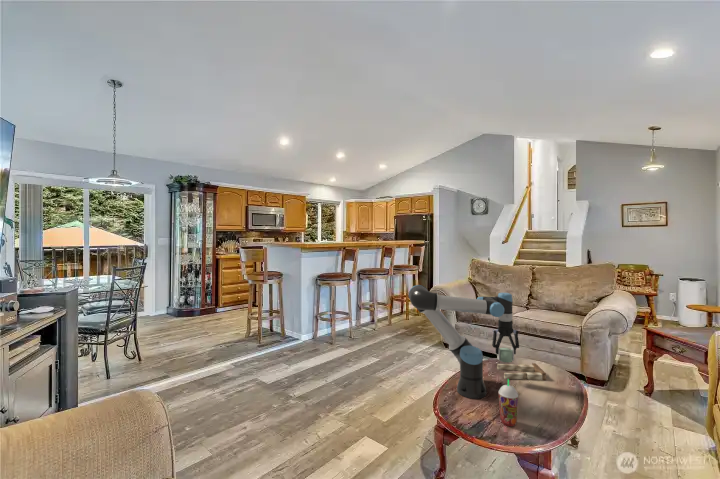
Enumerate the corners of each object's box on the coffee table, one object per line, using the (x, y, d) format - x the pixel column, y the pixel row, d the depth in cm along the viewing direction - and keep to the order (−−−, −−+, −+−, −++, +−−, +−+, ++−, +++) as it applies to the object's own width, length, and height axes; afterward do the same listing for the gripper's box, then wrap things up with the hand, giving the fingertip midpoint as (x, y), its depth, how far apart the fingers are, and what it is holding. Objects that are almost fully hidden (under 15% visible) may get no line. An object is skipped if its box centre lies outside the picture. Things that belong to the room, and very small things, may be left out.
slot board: (504, 378, 199) (504, 372, 198) (497, 368, 213) (497, 362, 213) (546, 380, 196) (545, 373, 196) (535, 369, 211) (535, 363, 211)
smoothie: (509, 430, 147) (508, 384, 147) (494, 420, 155) (494, 377, 155) (522, 425, 151) (522, 381, 150) (507, 416, 158) (507, 374, 158)
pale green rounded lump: (501, 362, 191) (501, 351, 191) (497, 357, 198) (497, 347, 198) (514, 362, 190) (514, 352, 190) (510, 358, 197) (509, 347, 197)
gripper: (489, 321, 191) (489, 361, 192) (525, 322, 189) (526, 362, 189) (485, 318, 199) (486, 356, 199) (521, 318, 196) (521, 357, 197)
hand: (505, 359), depth 194 cm, fingers closed on pale green rounded lump, 7 cm apart
